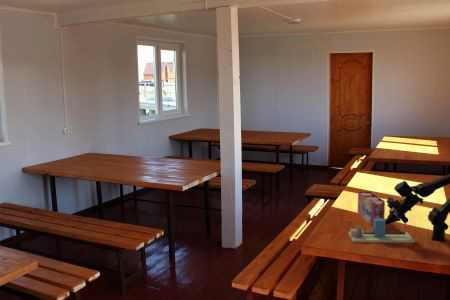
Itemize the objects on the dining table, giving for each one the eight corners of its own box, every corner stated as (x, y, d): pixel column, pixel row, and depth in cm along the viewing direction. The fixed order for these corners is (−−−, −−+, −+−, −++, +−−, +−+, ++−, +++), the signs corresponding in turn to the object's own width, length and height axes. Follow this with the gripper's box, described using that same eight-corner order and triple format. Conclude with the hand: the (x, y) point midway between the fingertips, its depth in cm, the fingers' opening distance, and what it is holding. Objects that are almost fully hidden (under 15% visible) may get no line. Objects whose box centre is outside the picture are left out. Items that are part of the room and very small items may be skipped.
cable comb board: (406, 234, 246) (407, 223, 245) (414, 242, 234) (415, 230, 233) (348, 233, 248) (348, 222, 246) (353, 242, 236) (353, 230, 235)
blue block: (382, 233, 242) (383, 218, 241) (384, 236, 238) (385, 221, 237) (372, 233, 243) (373, 218, 241) (375, 236, 239) (375, 220, 237)
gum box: (385, 225, 260) (386, 202, 257) (371, 226, 259) (372, 202, 257) (369, 212, 283) (370, 191, 281) (356, 213, 283) (357, 191, 280)
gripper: (391, 187, 245) (369, 207, 248) (403, 197, 227) (378, 218, 229) (406, 202, 246) (383, 222, 249) (418, 213, 228) (394, 234, 230)
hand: (384, 223), depth 239 cm, fingers closed, pressing on blue block
